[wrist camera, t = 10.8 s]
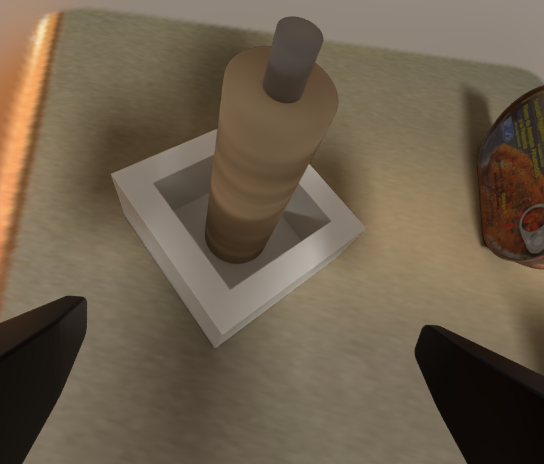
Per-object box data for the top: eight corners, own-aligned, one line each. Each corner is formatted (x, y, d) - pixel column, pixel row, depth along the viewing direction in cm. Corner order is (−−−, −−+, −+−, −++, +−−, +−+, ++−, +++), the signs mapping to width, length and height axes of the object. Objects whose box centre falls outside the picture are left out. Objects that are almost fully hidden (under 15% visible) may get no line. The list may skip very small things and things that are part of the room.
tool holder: (214, 348, 19) (222, 335, 16) (124, 215, 22) (110, 173, 18) (336, 257, 24) (366, 228, 20) (250, 154, 26) (261, 109, 22)
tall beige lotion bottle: (248, 275, 21) (337, 107, 9) (192, 243, 21) (203, 33, 9) (276, 226, 23) (380, 32, 11) (224, 197, 23) (270, -29, 11)
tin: (474, 134, 33) (556, 56, 26) (503, 144, 33) (593, 71, 26) (483, 276, 26) (601, 226, 18) (521, 289, 26) (652, 244, 19)
